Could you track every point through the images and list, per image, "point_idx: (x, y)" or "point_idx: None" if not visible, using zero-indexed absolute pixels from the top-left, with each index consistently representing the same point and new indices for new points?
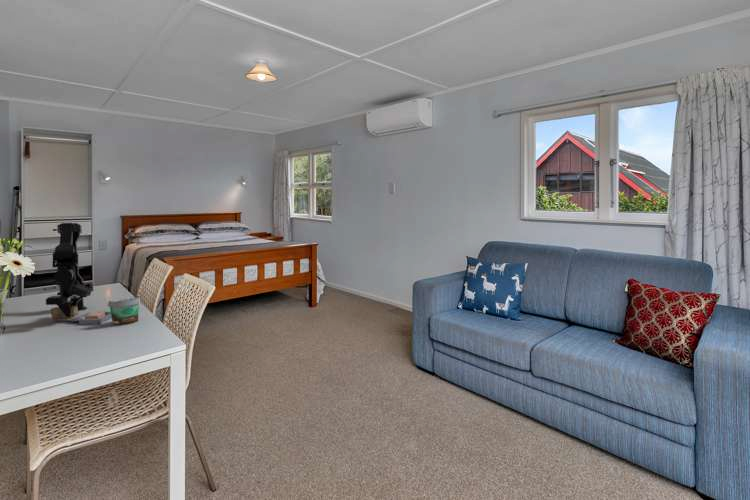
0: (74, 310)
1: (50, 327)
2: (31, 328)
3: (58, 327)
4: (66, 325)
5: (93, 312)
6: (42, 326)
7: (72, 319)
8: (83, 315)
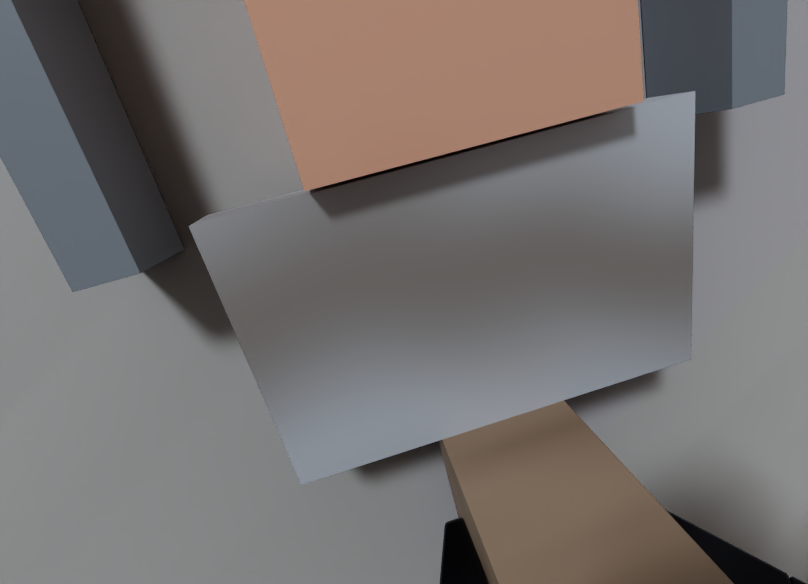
0: (632, 513)
1: (782, 422)
2: (798, 571)
3: (791, 324)
4: (707, 302)
5: (296, 156)
6: (736, 541)
7: (675, 316)
8: (480, 290)
